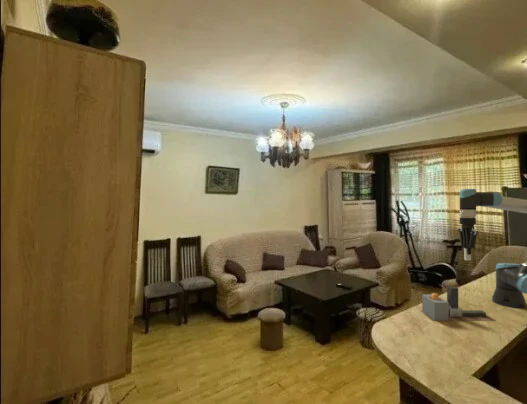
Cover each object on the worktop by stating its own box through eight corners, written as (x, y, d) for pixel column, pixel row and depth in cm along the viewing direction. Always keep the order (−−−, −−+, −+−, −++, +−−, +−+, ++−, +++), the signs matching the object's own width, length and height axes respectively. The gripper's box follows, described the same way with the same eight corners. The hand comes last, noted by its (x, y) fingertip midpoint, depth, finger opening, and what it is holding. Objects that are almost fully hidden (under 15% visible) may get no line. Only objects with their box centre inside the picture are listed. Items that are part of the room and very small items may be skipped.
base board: (478, 311, 161) (478, 310, 161) (496, 322, 148) (496, 320, 148) (419, 312, 161) (419, 310, 161) (432, 322, 148) (432, 320, 148)
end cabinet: (435, 310, 161) (435, 294, 160) (448, 320, 149) (448, 302, 148) (422, 310, 161) (422, 294, 161) (434, 320, 149) (434, 302, 149)
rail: (481, 314, 156) (481, 310, 156) (486, 316, 153) (486, 312, 153) (440, 314, 156) (440, 310, 156) (443, 316, 153) (443, 312, 153)
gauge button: (436, 308, 156) (436, 293, 156) (439, 310, 153) (439, 295, 153) (430, 308, 156) (430, 293, 156) (433, 310, 153) (433, 295, 153)
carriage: (454, 312, 157) (454, 285, 157) (462, 317, 151) (462, 289, 151) (443, 312, 158) (443, 285, 157) (450, 317, 152) (450, 289, 151)
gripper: (453, 216, 169) (453, 257, 170) (468, 218, 156) (468, 262, 157) (466, 216, 169) (466, 257, 170) (483, 218, 156) (482, 262, 157)
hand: (467, 260), depth 163 cm, fingers closed
